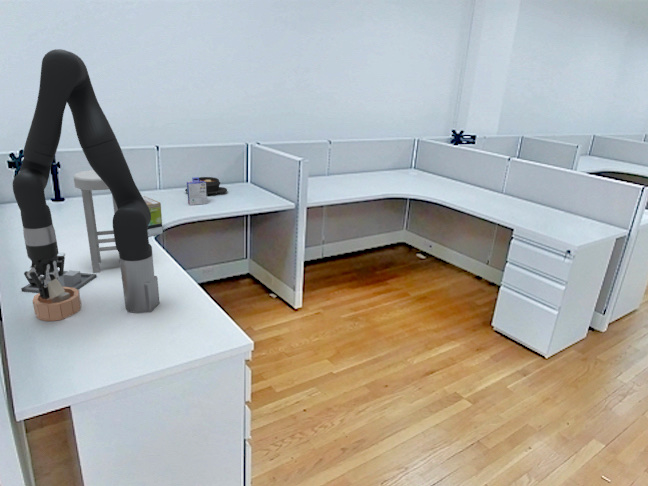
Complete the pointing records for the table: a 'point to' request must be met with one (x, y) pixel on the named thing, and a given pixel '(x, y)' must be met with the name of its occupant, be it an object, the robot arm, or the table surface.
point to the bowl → (57, 306)
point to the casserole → (212, 185)
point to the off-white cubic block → (54, 288)
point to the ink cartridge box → (196, 192)
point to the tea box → (154, 217)
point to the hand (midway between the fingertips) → (50, 294)
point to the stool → (93, 214)
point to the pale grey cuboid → (61, 297)
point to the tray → (84, 278)
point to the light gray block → (72, 278)
